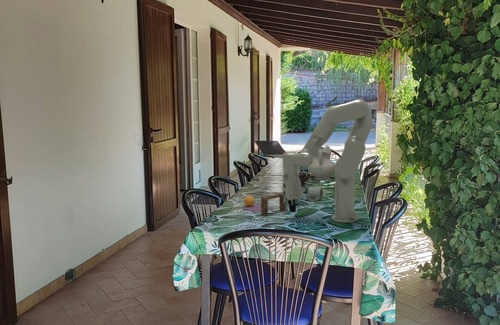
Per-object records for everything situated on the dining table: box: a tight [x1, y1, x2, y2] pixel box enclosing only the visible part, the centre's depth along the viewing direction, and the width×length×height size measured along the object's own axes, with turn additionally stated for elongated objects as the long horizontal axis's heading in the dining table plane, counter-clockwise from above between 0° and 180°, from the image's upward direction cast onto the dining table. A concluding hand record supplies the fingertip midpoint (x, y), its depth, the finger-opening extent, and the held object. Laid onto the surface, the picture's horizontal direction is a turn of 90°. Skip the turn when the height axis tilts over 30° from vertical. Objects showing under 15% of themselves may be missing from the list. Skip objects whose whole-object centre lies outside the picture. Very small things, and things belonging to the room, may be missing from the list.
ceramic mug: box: [307, 186, 324, 203], centre depth 266 cm, size 11×8×8 cm
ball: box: [243, 195, 256, 207], centre depth 253 cm, size 6×6×6 cm
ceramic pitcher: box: [308, 145, 336, 182], centre depth 326 cm, size 22×20×25 cm
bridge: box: [260, 192, 287, 217], centre depth 238 cm, size 3×15×10 cm, turn 128°
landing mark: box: [241, 203, 274, 213], centre depth 249 cm, size 13×13×1 cm
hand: (292, 211), depth 228 cm, fingers closed
